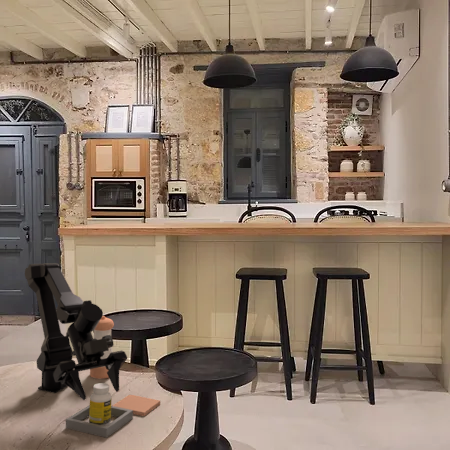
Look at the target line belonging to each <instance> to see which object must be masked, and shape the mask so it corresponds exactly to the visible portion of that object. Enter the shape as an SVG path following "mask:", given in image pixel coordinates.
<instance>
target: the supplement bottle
mask: <svg viewBox="0 0 450 450" xmlns="http://www.w3.org/2000/svg"><path fill="white" fill-rule="evenodd" d="M89 405H90V409H89V416H88V422H89V423H94V424H98V425H102V426H107V425H108V424H110V423H111V422H112V416H111V406H112V394H111V392H110V384H108V383H105V382H98V383H95V384H94V385H93V387H92V393H91V394H90V397H89Z"/></svg>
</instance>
